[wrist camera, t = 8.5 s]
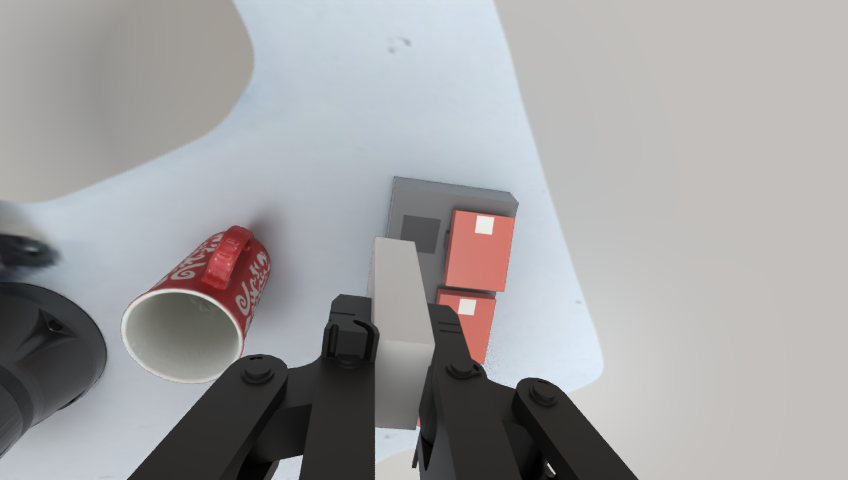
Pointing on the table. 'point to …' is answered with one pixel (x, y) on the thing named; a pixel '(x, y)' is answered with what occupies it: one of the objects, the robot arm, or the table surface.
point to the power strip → (438, 222)
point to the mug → (199, 310)
